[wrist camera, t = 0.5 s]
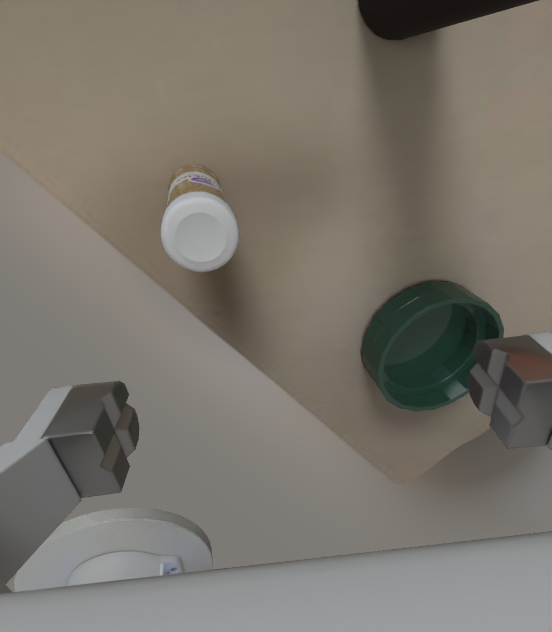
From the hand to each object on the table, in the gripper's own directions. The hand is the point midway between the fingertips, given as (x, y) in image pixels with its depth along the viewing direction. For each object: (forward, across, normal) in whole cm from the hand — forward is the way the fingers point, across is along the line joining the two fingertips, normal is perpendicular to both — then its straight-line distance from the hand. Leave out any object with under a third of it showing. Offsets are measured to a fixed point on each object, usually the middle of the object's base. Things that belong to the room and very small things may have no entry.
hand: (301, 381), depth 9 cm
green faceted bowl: (+32, +17, -22) cm, 42 cm away
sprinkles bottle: (+28, -6, -1) cm, 29 cm away
